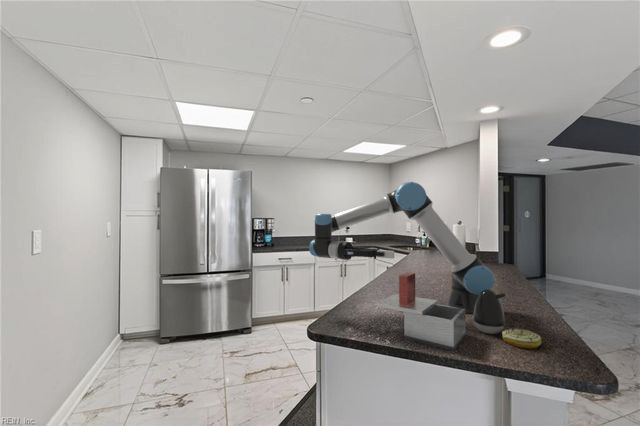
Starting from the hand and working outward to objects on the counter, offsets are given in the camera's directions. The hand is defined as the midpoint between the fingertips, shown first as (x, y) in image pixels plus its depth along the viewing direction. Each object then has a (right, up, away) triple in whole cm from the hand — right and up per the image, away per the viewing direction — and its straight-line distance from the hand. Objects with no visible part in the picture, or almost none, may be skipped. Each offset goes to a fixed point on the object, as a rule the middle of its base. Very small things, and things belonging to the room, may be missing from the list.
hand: (393, 254), depth 117 cm
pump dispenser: (+33, -27, -5) cm, 43 cm away
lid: (+4, -18, -3) cm, 19 cm away
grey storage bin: (+12, -27, -10) cm, 31 cm away
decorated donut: (+38, -27, -15) cm, 50 cm away
